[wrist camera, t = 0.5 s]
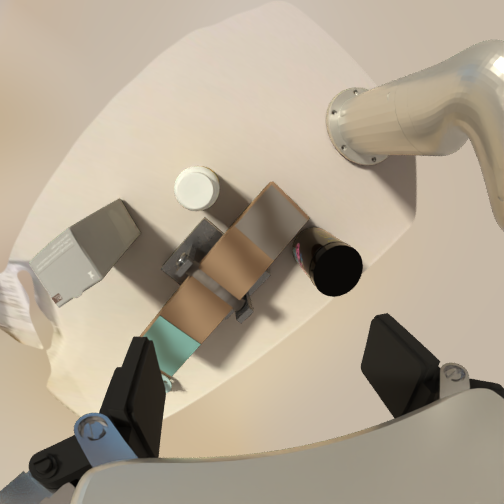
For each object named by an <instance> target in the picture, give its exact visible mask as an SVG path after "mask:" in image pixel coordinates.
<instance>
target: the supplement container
mask: <svg viewBox="0 0 504 504" xmlns="http://www.w3.org/2000/svg"><path fill="white" fill-rule="evenodd" d="M293 256H294V259H295V261H296V262H297V263H298V265H299V266H300V267H301V268H302V270H303V271H304V272H305V273H306V275H307V276H308V277H309V278H310V280H311V281H312V283H313V284H314V285H315V286H316V288H317V289H318V290H319V291H320V292H321V293H323V294H324V295H327V296H332V297H335V296H341V295H343V294H346V293H347V292H349V291H350V290H351V289H353V288H354V287H355V285H356V284H357V283H358V281H359V279H360V277H361V274H362V269H363V264H362V259H361V256H360V254H359V253H358V252H357V251H356V250H355V249H354V248H352V247H351V246H350V245H348V244H346V243H344V242H343V241H341V240H340V239H338V238H336V237H335V236H333V235H332V234H330V233H329V232H327V231H325V230H324V229H321V228H317V227H312V228H308V229H306V230H304V231H302V232H301V233H300V234H299V235H298V236H297V238H296V239H295V241H294V244H293Z"/></svg>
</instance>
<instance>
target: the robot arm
mask: <svg viewBox="0 0 504 504" xmlns="http://www.w3.org/2000/svg"><path fill="white" fill-rule="evenodd" d="M353 92H354V93H353ZM332 112H333V114H332ZM326 125H327V130H328V134H329V137H330V139H331V141H332V143H333V145H334V146H335V148H336V149H337V150H338V151H339V153H340V154H342V155H343V156H344V157H345V158H347V159H348V160H350V161H351V162H354V163H357V164H362V165H374V164H377V163H380V162H382V161H383V160H385V159H386V158H387V157H388V156H389V155H422V156H446V155H450V154H452V153H454V152H456V151H458V150H459V149H460V148H461V147H462V146H463V145H464V144H465V143H466V141H467V140H468V138H469V139H470V141H471V143H472V145H473V148H474V151H475V153H476V156H477V158H478V161H479V164H480V167H481V171H482V174H483V177H484V181H485V185H486V189H487V193H488V196H489V200H490V204H491V207H492V212H493V214H494V217H495V219H496V222H497V224H498V225H499V227H500V228H501V229H502V230H503V231H504V41H502V40H488V41H483V42H480V43H478V44H475V45H473V46H471V47H469V48H467V49H465V50H463V51H461V52H460V53H458V54H456V55H454V56H453V57H451V58H449V59H447V60H445V61H443V62H441V63H439V64H437V65H434V66H432V67H429V68H427V69H424V70H421V71H419V72H416V73H413V74H410V75H408V76H405V77H402V78H399V79H397V80H394V81H392V82H389V83H386V84H384V85H381V86H379V87H376V88H374V89H371V90H368V89H364V88H356V87H355V88H349V89H346V90H344V91H342V92H340V93H339V94H337V95H336V96H335V97H334V98H333V100H332V101H331V103H330V105H329V107H328V110H327V116H326ZM341 147H343V149H342V148H341ZM439 363H440V361H439V360H438V359H437V358H436V357H435V356H434V355H433V354H432V353H431V352H430V351H429V350H428V349H427V348H426V347H424V346H423V345H422V344H421V343H420V342H419V341H418V340H417V339H416V338H415V337H413V335H411V334H410V333H409V332H408V331H407V330H406V329H405V328H404V327H403V326H401V325H400V324H399V323H398V322H397V321H396V320H395V319H394V318H393V317H391V316H390V315H389V314H388V313H386V314H381V315H376V316H375V317H374V319H373V320H372V321H371V325H370V330H369V334H368V339H367V343H366V348H365V351H364V355H363V360H362V363H361V370H362V372H363V374H364V375H365V377H366V378H367V380H368V381H369V383H370V384H371V385H372V387H373V388H374V390H375V391H376V392H377V394H378V395H379V397H380V398H381V400H382V401H383V402H384V404H385V405H386V407H387V408H388V410H389V411H390V412H391V414H392V415H393V417H394V418H395V419H392V420H390V421H387V422H384V423H382V424H379V425H376V426H373V427H370V428H367V429H364V430H361V431H358V432H355V433H351V434H348V435H345V436H341V437H337V438H334V439H329V440H326V441H321V442H317V443H313V444H308V445H304V446H299V447H293V448H288V449H282V450H276V451H270V452H262V453H254V454H246V455H236V456H220V457H200V458H158V456H159V447H160V437H161V428H162V420H163V412H164V405H165V397H166V390H165V385H164V382H163V378H162V374H161V371H160V367H159V363H158V359H157V355H156V351H155V347H154V343H153V341H152V340H149V339H148V337H133V339H132V342H131V344H130V347H129V349H128V352H127V354H126V357H125V359H124V362H123V365H122V367H117V368H116V369H115V371H114V374H113V376H112V379H111V382H110V384H109V387H108V390H107V392H106V395H105V398H104V400H103V403H102V406H101V409H100V412H99V413H89V414H85V415H83V416H82V417H80V418H79V419H78V420H77V421H76V423H75V425H74V433H75V435H74V436H72V437H70V438H67V439H65V440H63V441H61V442H59V443H57V444H55V445H53V446H51V447H49V448H46V449H44V450H42V451H40V452H38V453H36V454H34V455H33V456H32V458H31V459H30V462H29V471H28V472H27V473H25V472H24V471H23V472H22V473H21V474H20V475H18V476H17V477H16V478H15V479H14V480H13V481H12V482H10V483H9V484H8V485H7V486H6V487H5V488H3V489H2V490H1V491H0V504H504V388H503V387H502V386H501V385H500V384H496V383H492V382H486V381H480V380H475V379H469V375H468V372H467V370H466V369H465V368H464V367H463V366H461V365H459V364H456V363H446V364H444V365H443V366H442V367H441V368H439V367H438V365H439Z"/></svg>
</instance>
